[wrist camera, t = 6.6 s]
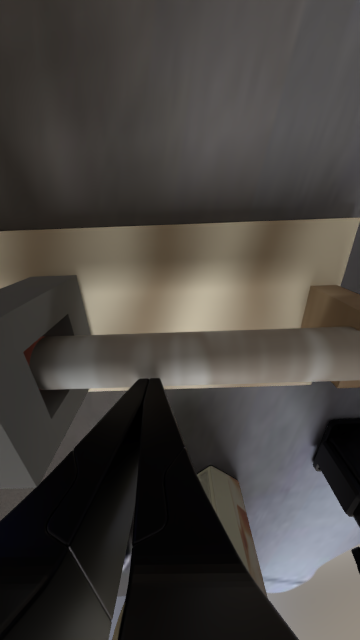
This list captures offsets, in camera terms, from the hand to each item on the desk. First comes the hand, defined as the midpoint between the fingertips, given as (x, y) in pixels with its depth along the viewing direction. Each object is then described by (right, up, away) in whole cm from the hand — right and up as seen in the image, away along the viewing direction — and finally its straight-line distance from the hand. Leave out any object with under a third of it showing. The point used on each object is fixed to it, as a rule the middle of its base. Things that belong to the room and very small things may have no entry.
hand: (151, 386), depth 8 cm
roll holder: (-1, +3, +5) cm, 6 cm away
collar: (-6, +3, +5) cm, 8 cm away
